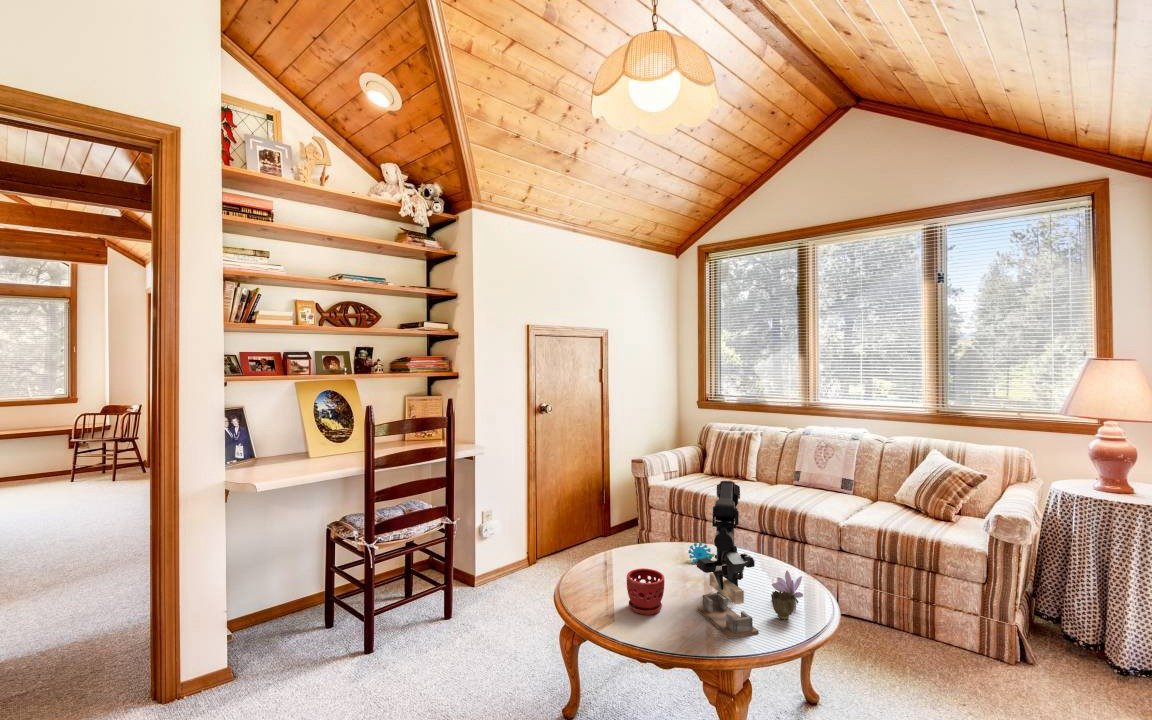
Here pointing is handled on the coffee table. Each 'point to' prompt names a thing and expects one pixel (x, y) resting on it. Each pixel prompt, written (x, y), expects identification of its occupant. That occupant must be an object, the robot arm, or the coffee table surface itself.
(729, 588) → the birch slat
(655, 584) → the plant pot
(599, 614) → the coffee table surface
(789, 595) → the cup
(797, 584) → the water lily
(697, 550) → the gear
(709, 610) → the end cap base
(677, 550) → the coffee table surface
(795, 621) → the coffee table surface
